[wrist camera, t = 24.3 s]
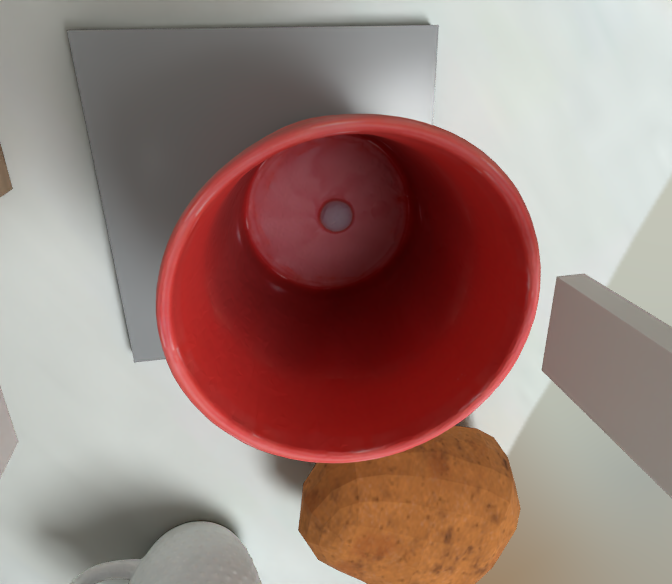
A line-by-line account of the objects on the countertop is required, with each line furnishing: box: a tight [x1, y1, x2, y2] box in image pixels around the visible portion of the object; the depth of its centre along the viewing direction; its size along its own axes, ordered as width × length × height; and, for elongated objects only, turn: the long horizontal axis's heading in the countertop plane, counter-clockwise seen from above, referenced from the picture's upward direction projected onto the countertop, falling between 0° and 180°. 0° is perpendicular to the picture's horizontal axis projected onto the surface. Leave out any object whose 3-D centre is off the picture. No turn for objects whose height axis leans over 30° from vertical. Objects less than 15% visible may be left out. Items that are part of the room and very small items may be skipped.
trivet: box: [67, 25, 439, 362], centre depth 24 cm, size 14×14×1 cm
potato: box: [298, 426, 520, 584], centre depth 28 cm, size 9×11×8 cm
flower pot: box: [156, 114, 541, 463], centre depth 19 cm, size 11×11×10 cm
